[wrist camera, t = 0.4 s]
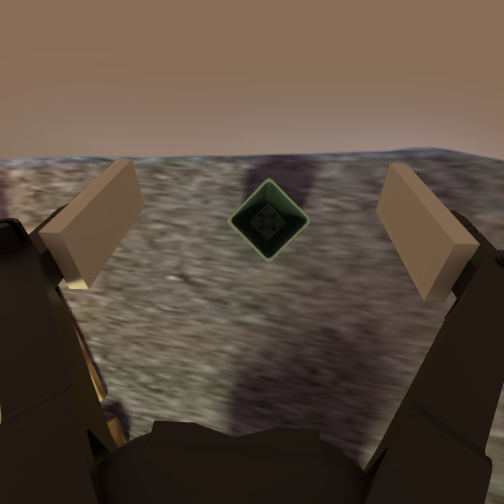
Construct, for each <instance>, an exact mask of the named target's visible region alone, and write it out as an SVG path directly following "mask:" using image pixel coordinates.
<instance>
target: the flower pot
mask: <svg viewBox="0 0 504 504" xmlns="http://www.w3.org/2000/svg"><path fill="white" fill-rule="evenodd" d="M260 214H262V215H263V216H262V217H260ZM273 214H276V217H273ZM227 222H228V223H229V225H230V226H231V227H232V228H233V229H235V230H236V231H237V232H238V233H239V234H240V235H241V236H242V237H243V238H244V239H245V240H246V241H247V242H248V243H249V244H250V245H251V246H252V247H253V248H254V249H255V250H256V251H257V252H258V253H259V254H260V256H261V257H262V258H263V259H264V260H265V261H267V262H271V261H272V260H273V259H274V258H275V257H276V256H277V255H278V254H279V253H280V252H281V251H282V250H283V249H284V248H285V247H286V246H287V245H288V244H289V243H290V242H291V241H292V240H293V239H294V238H295V237H296V236H297V235H298V234H299V233H300V232H301V231H302V230H303V229H304V228H305V227H306V226H308V225H309V223H310V222H311V218H310V217H309V216H308V215H307V214H306V213H305V212H304V211H303V210H302V209H301V208H300V207H299V206H298V205H297V204H296V203H295V202H294V201H293V200H292V199H291V198H290V197H289V196H288V195H287V194H286V193H285V192H284V191H283V190H282V189H281V188H280V187H279V186H278V185H277V184H276V183H275V182H274V181H273V180H272V179H271V178H267V179H266V180H265V181H264V182H263V183H262V184H261V185H260V186H259V187H258V188H257V189H256V190H255V191H254V192H253V193H252V195H251V196H250V197H248V199H247V200H246V201H245V202H244V203H243V204H242V205H241V206H240V207H239V208H238V209H237V210H236V211H235V212H234V213H233V214H232V215H231V216H230V217H229V218H228V219H227ZM260 227H262V228H263V229H262V230H260ZM273 227H275V228H276V230H273Z"/></svg>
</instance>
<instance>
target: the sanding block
mask: <svg viewBox="0 0 504 504" xmlns="http://www.w3.org/2000/svg"><path fill="white" fill-rule="evenodd" d="M107 424H108V427H109V430H110V432H111V434H112V437H113V439H114V440H115V442H116V444H117V446H118V448H119V447H120V446H122V445H123V444H125V443H127V442H129V439H128V437H127V435H126V433H125V431H124V429H123V427H122V425H121V423H120V420H119V418H118V416H117V417H114V418H112V419H109V420H107Z"/></svg>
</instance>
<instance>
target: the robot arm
mask: <svg viewBox="0 0 504 504" xmlns="http://www.w3.org/2000/svg"><path fill="white" fill-rule="evenodd" d="M144 206H145V205H144V202H143V198H142V194H141V191H140V187H139V183H138V179H137V176H136V172H135V168H134V165H133V161H132V159H117V160H116V161H115V162H114V163H113V164H112V165H110V166H109V167H108V168H107V169H106V170H105V171H104V172H103V173H102V174H101V175H100V176H98V177H97V178H96V179H95V180H94V181H93V182H92V183H91V184H90V185H89V186H88V187H87V188H85V189H84V190H83V191H82V192H81V193H80V194H79V195H78V196H77V197H76V198H75V199H74V200H72V201H71V202H70V203H68V204H66V205H64V206H62V207H60V208H58V209H57V210H56V211H55V212H54V213H52V214H51V215H50V217H48V218H47V219H46V220H45V221H44V222H42V223H41V224H40V225H39V226H38V227H37V228H36V229H35V230H34V231H32V232H31V233H30V234H29V235H28V234H27V232H26V230H25V229H24V227H23V225H22V224H21V222H20V221H19V220H18V219H14V218H4V219H0V412H1V424H0V504H484V502H485V498H486V494H487V490H488V486H489V482H490V478H491V473H492V460H491V458H489V457H488V456H486V455H485V448H486V444H487V440H488V436H489V433H490V429H491V426H492V422H493V418H494V415H495V411H496V408H497V404H498V401H499V397H500V393H501V390H502V386H503V383H504V251H503V250H496V249H495V248H494V246H493V245H492V244H491V243H490V242H489V241H488V240H487V239H486V238H485V237H484V236H483V235H482V234H481V233H478V230H477V229H476V228H475V227H474V226H473V225H472V224H471V223H470V222H469V221H468V220H467V219H466V217H464V216H462V215H460V214H459V213H457V212H455V211H449V210H448V209H447V208H446V207H445V206H444V205H443V203H442V202H441V201H440V200H439V199H438V198H437V197H436V196H435V195H434V194H433V192H432V191H431V190H430V189H429V188H428V187H427V186H426V185H425V184H424V183H423V182H422V180H421V179H420V178H419V177H418V176H417V175H416V174H415V173H414V172H413V171H412V170H411V168H410V167H409V166H408V165H407V164H406V163H390V165H389V168H388V172H387V175H386V178H385V182H384V185H383V188H382V192H381V195H380V198H379V202H378V205H377V208H376V213H377V214H378V216H379V218H380V220H381V222H382V224H383V226H384V228H385V229H386V231H387V233H388V235H389V237H390V239H391V241H392V242H393V244H394V246H395V248H396V250H397V252H398V254H399V256H400V257H401V259H402V261H403V263H404V265H405V267H406V269H407V271H408V272H409V274H410V276H411V278H412V280H413V282H414V284H415V285H416V287H417V289H418V291H419V293H420V295H421V297H422V299H423V300H424V301H431V302H445V301H446V299H447V297H448V296H449V294H450V292H451V291H452V292H453V293H454V295H455V296H456V298H457V300H456V301H455V303H454V304H453V306H452V307H451V309H450V310H449V312H448V314H447V315H446V317H445V318H444V319H445V321H444V323H443V325H442V327H441V329H440V331H439V332H438V334H437V336H436V338H435V340H434V342H433V344H432V346H431V348H430V349H429V351H428V353H427V355H426V357H425V359H424V361H423V363H422V365H421V367H420V368H419V370H418V372H417V374H416V376H415V378H414V380H413V382H412V384H411V385H410V387H409V389H408V391H407V393H406V395H405V397H404V399H403V401H402V403H401V404H400V406H399V408H398V410H397V412H396V414H395V416H394V418H393V420H392V422H391V423H390V425H389V427H388V429H387V431H386V433H385V435H384V437H383V439H382V440H381V442H380V444H379V446H378V448H377V450H376V451H375V453H374V455H373V456H372V458H371V460H370V461H369V463H368V465H367V466H366V468H365V470H364V471H363V470H362V469H361V468H360V467H359V466H358V465H357V464H356V463H355V462H354V461H353V460H351V459H350V458H349V457H348V456H346V455H345V454H344V453H343V452H342V451H341V450H339V449H338V448H336V447H335V446H333V445H330V444H327V443H324V442H320V433H319V430H315V429H297V428H279V427H278V428H274V429H269V430H265V431H261V432H257V433H253V434H248V435H244V436H240V437H232V436H229V435H226V434H223V433H220V432H218V431H215V430H212V429H210V428H207V427H204V426H201V425H199V424H196V423H190V422H172V421H154V424H153V428H152V431H151V433H148V434H145V435H142V436H139V437H137V438H135V439H133V440H131V441H129V442H127V443H125V444H123V445H122V446H120V447H119V448H118V446H117V444H116V442H115V440H114V439H113V437H112V434H111V432H110V430H109V427H108V424H107V421H106V418H105V415H104V412H103V410H102V407H101V404H100V401H99V398H98V395H97V392H96V389H95V386H94V383H93V380H92V378H91V375H90V372H89V369H88V366H87V363H86V360H85V357H84V354H83V351H82V348H81V346H80V343H79V340H78V337H77V334H76V331H75V328H74V325H73V322H72V319H71V316H70V314H69V311H68V308H67V305H66V302H65V299H64V296H63V293H62V291H61V289H60V287H59V286H58V284H59V283H60V282H61V281H62V279H63V278H64V279H65V281H66V283H67V284H68V286H69V288H70V289H89V288H90V286H91V285H92V283H93V282H94V280H95V279H96V277H97V276H98V274H99V273H100V271H101V270H102V268H103V267H104V265H105V264H106V262H107V261H108V259H109V258H110V256H111V255H112V254H113V252H114V251H115V249H116V248H117V246H118V245H119V243H120V242H121V240H122V239H123V237H124V236H125V234H126V233H127V231H128V230H129V228H130V227H131V225H132V224H133V222H134V221H135V219H136V218H137V216H138V215H139V213H140V212H141V210H142V209H143V207H144Z"/></svg>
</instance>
